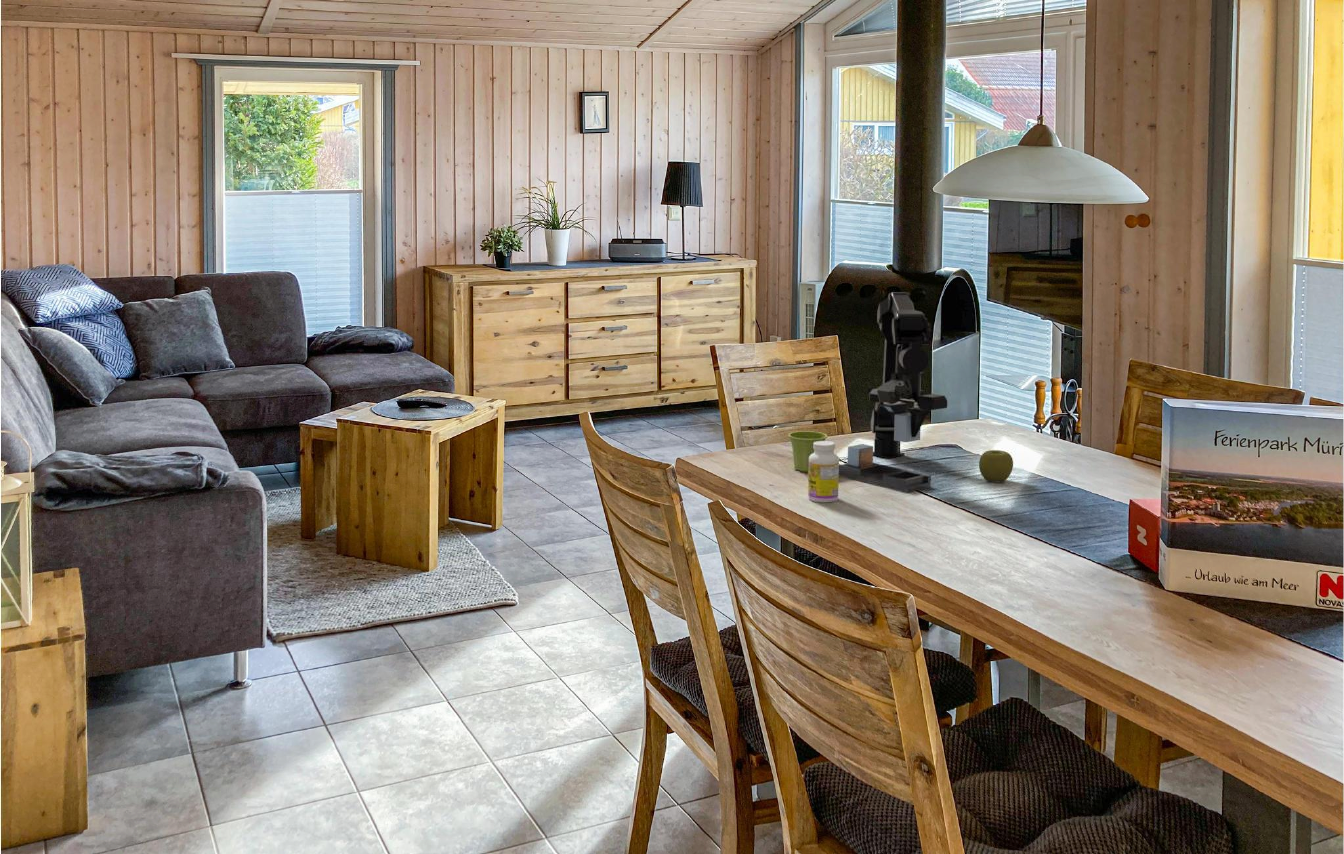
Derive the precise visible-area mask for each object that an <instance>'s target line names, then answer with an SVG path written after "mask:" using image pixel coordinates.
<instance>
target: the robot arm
mask: <svg viewBox="0 0 1344 854" xmlns="http://www.w3.org/2000/svg"><path fill="white" fill-rule="evenodd" d="M876 316H877V317H876V318H877V319H876V321H877V324H878V326H879V329H880V332H881V335H882V336H883V337H884V353H883V374H882V385H880V386H878V387H877V388H872V389H871V391H870V392H869V396H868V397H869V399H868V400H869V402H872V403H873V402H874V403H875V406H874V409H872V413H871V418H870V431H871V432H872V434H874V437H875V438H874V442H873V443H874V445H873V456H876V457H881V458H886V459H892V458H893V459H894V458H896V457H901V456H905V455H906V454H905V452H901V441H895V440H894V421H895V414H902V413H908V412H910V413H911V435H912V437H916V435H917V433H918V431H919V430H920V431H921V427H922V426H923V423H924V422H925V420H926V419H927V416H928V415H929V413H930V412H931V411H935V410H941V409H943V410H944V409H948V398H947V397H946V396H945V395H944V394H942V395H941V394H935V393H930V394H925V390H922V388H921V385H922V382H921V381H922V378H925V376H926V373H925V372H924V371H925V370H926V369H927V368H928V365H929V362H930V361H929V356H928V354H927V352H926V351H925V350H924V349H923V346H924V345H925V346H926V345H928V346H929V345H930V341H931V340H932V333H931V326H930V323H929V322H928V318H926V317H925V316H926V315H925V314H924V313H923V312H922V311H919V310H916V309H915V307H914V302H913V301H912V299H911V293H910V292H909V293H908V292H905V291H901V292H900V291H899V292H898V291H896V292H894V291H892V292H890V293H888V295H887V297H886V298H885V299H884V300H881V302H879V303H878V308H877V314H876ZM908 403H909V404H913V407H909V408H907V406H908ZM907 409H908V412H907Z"/></svg>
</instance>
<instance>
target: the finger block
mask: <svg viewBox="0 0 1344 854" xmlns="http://www.w3.org/2000/svg"><path fill="white" fill-rule="evenodd" d="M894 440H895V441H900V443H901V442H902V443H910V442H916V441H920V440H921V429H920V430H919V431H918V433H917V435H916V437H912V435H911V413H910V412H909V411H908V412H907V413H902V414H895V421H894Z"/></svg>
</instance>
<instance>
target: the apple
mask: <svg viewBox="0 0 1344 854" xmlns="http://www.w3.org/2000/svg"><path fill="white" fill-rule="evenodd" d="M978 461H979V462H978V467H979V472H980V475H981V476H982V478H983V479H984V481H987V482H989V483H1001V482H1005V481H1006V480H1008V479H1009V477H1010V475H1011V474H1012V471H1013V468H1014V460H1013V457H1012V455H1011V454H1010V453H1009V452H1007V451H1005V450H998V449H997V450H996V449H995V450H994V449H991V450H987V451H985V452H983V453H982V454H981V455H980V457H979V460H978Z"/></svg>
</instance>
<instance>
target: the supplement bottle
mask: <svg viewBox="0 0 1344 854" xmlns="http://www.w3.org/2000/svg"><path fill="white" fill-rule="evenodd" d="M835 446H836V443H835V442H834V441H828V440H825V441H817V442H814V443H813V448H814V453H813V454H811V455H810V456H809V472H808V479H807V481H808V482H807V484H808V485H807V497H808V499H809V500H810V501H812V502H815V503H821V504H822V503H823V504H824V503H834V502H835V501H838V499H839V480H840V479H839V477H840V476H839V464H840V458H839V456H838V455H837V454H836V453H835V452H834V451H835V449H836V447H835Z"/></svg>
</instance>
